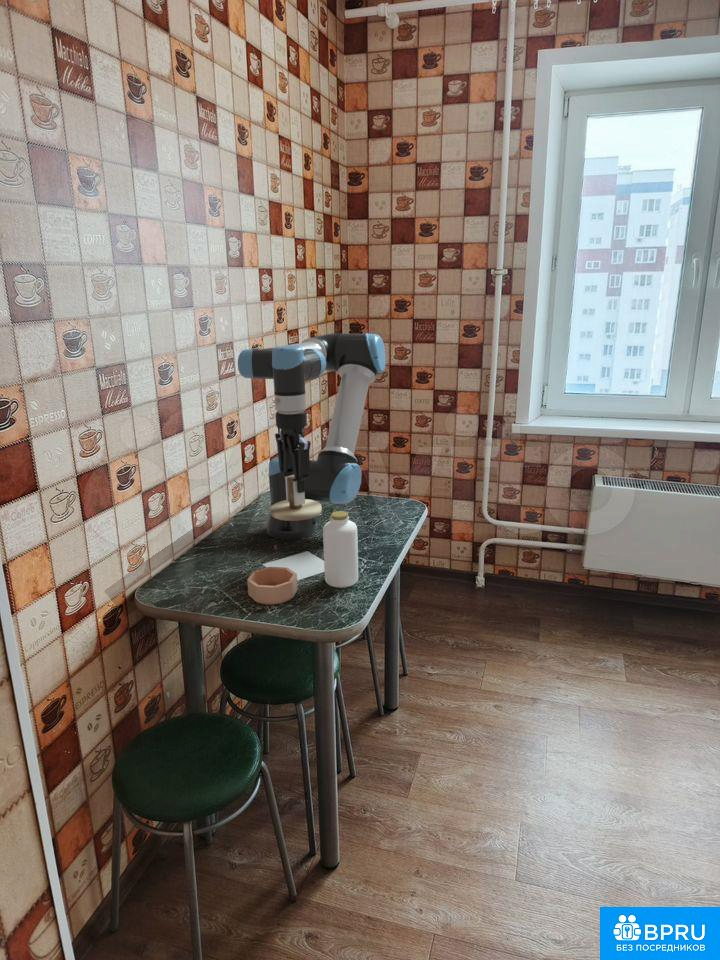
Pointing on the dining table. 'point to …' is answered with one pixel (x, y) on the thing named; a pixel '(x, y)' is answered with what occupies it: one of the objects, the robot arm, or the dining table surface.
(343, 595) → the dining table surface
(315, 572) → the mat
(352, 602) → the dining table surface
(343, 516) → the white bottle
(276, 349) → the robot arm
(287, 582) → the bowl
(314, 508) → the lid
